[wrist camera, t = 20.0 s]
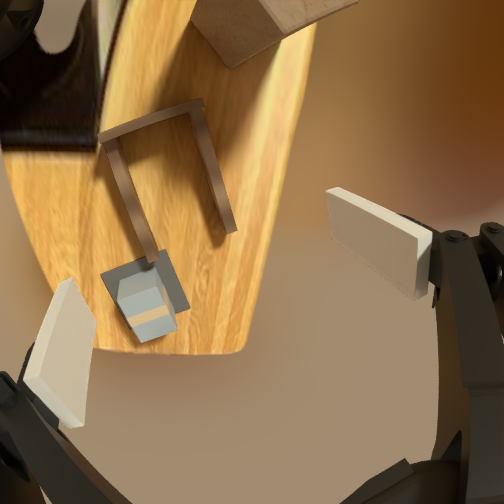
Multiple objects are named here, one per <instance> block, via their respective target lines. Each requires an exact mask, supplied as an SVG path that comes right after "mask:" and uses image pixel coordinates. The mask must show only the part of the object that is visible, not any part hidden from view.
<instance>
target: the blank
mask: <svg viewBox="0 0 504 504" xmlns="http://www.w3.org/2000/svg"><path fill="white" fill-rule="evenodd" d="M117 302H118V304H119V306H120V307H121V309H122V311H123V313H124V315H125V316H126V319H127V321H128V323H129V324H130V326H131V327H132V329H133V330H134V332H135V334H136V335H137V337H138V339H139V340H140V342H141V343H143V342H146V341H149V340H152V339H154V338H157V337H160V336H163V335H166V334H169V333H171V332H174V331H177V330H178V329H177V323H176V317H175V311H174V307H173V305H172V303H171V301H170V299H169V296H168V294H167V291H166V289H165V287H164V285H163V283H162V281H161V279H160V277H159V274H158V272H157V270H156V267H153V268H151V269H148V270H145V271H143V272H140V273H137V274H135V275H132V276H130V277H127V278H124V279H122V280H120V283H119V289H118V296H117Z"/></svg>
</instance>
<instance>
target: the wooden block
mask: <svg viewBox="0 0 504 504" xmlns="http://www.w3.org/2000/svg"><path fill="white" fill-rule="evenodd" d="M359 1H360V0H197V2H196V4H195V7H194V9H193V12H192V14H191V17H190V20H191V21H192V23H193V24H194V25H195V26H196V28H197V29H198V30H199V31H200V33H201V34H202V35H203V36H204V38H205V39H206V40H207V41H208V43H209V44H210V45H211V47H212V48H213V49H214V50H215V52H216V53H217V54H218V56H219V57H220V58H221V60H222V61H223V62H224V64H225V65H226V66H227V68H229V69H233V68H234V67H236V66H237V65H239V64H241V63H242V62H244V61H246V60H247V59H249V58H251V57H252V56H254V55H256V54H257V53H259V52H261V51H263V50H264V49H266V48H268V47H270V46H271V45H273V44H275V43H277V42H279V41H281V40H282V39H284V38H286V37H288V36H290V35H292V34H293V33H295V32H297V31H299V30H301V29H303V28H305V27H307V26H309V25H311V24H313V23H315V22H317V21H319V20H321V19H323V18H325V17H327V16H329V15H331V14H334V13H336V12H338V11H340V10H342V9H344V8H347V7H349V6H351V5H354V4H356V3H358V2H359Z"/></svg>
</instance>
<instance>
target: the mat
mask: <svg viewBox="0 0 504 504" xmlns="http://www.w3.org/2000/svg"><path fill="white" fill-rule="evenodd" d="M153 267H156V270H157V272H158V274H159V277H160V279H161V281H162V283H163V285H164V287H165V289H166V291H167V294H168V296H169V299H170V301H171V303H172V305H173V307H174V311H175V314H176V313H178V312H181V311H184V310H186V309H189V308H190V306H189V303H188V301H187V299H186V296H185V294H184V292H183V289H182V287H181V285H180V282H179V280H178V278H177V275H176V273H175V271H174V268H173V266H172V263H171V261H170V258H169V256H168V254H167V251H166V249H164V250H162V251H159V260H156V261H153V262H151V263H149V262H148V260H147V258H146V257H143V258H141V259H138V260H135V261H133V262H130V263H128V264H125V265H122V266H120V267H117V268H115V269H112V270H110V271H107V272H104V273H102V274H100V275H101V277H102V279H103V281H104V283H105V285H106V287H107V289H108V291H109V293H110V294H111V296H112V298H113V300H114V302H115V304H116V305H117V307H118V309H119V311H120V313H121V314H122V316H123V318H124V320H125V321H126V323H127V325H128V327H129V328H130V330H131V329H132V327H131V326H130V324H129V323H128V321H127V319H126V316H125V315H124V313H123V311H122V309H121V307H120V306H119V304H118V302H117V296H118V289H119V283H120V280H122V279H124V278H127V277H130V276H132V275H135V274H137V273H140V272H143V271H145V270H148V269H151V268H153Z"/></svg>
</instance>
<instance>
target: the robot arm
mask: <svg viewBox="0 0 504 504" xmlns="http://www.w3.org/2000/svg"><path fill="white" fill-rule="evenodd" d="M43 4H44V0H0V61H1V60H3V59H5V58H6V57H8V56H9V55H11V54H12V53H13V52H14V51H16V50H17V49H18V48H19V47H20V46H21V45H22V44H23V43H24V42H25V40H26V39H27V38H28V37H29V35H30V34H31V33H32V31H33V30H34V28H35V26H36V24H37V22H38V20H39V18H40V16H41V13H42V9H43ZM325 192H326V198H327V206H328V214H329V222H330V230H331V238H332V240H334V241H335V242H337V243H338V244H339V245H341V246H342V247H343V248H345V249H346V250H347V251H349V252H350V253H351V254H353V255H354V256H355V257H357V258H358V259H360V260H361V261H362V262H363V263H365V264H366V265H367V266H369V267H370V268H371V269H373V270H374V271H375V272H377V273H378V274H379V275H380V276H382V277H383V278H384V279H386V280H387V281H388V282H390V283H391V284H392V285H393V286H395V287H396V288H397V289H399V290H400V291H401V292H402V293H404V294H405V295H406V296H407V297H409V298H410V299H411V300H412V301H416V300H417V299H419V298H421V297H422V296H424V295H426V294H427V291H428V282H429V281H430V282H431V283H432V284H434V285H435V289H434V297H433V304H432V308H434V307H435V309H436V320H437V334H438V358H439V399H438V423H437V424H438V425H437V436H436V442H435V445H434V449H433V452H432V457H431V460H427V461H421V462H417V463H413V464H409V463H408V462H407V460H406V459H405V458H404V459H403V460H401V461H399V462H398V463H396V464H395V465H393V466H392V467H390V468H388V469H386V470H385V471H383V472H381V473H379V474H378V475H376V476H374V477H373V478H371V479H369V480H368V481H366V482H365V483H364V484H363V485H362V486H361V487H359V488H358V489H357V490H356V491H355V492H354V493H353V494H351V495H350V496H349V497H347V498H346V499H345V500H344V501H342V502H341V503H340V504H504V344H503V339H502V336H503V338H504V226H502V225H500V224H498V223H494V222H489V223H488V222H487V223H483V224H482V225H481V227H480V234H479V236H475V237H469V236H468V235H467V234H466V233H464V232H461V231H456V230H448V231H445V232H442V233H440V232H438V231H437V230H435V229H433V228H431V227H429V226H427V225H425V224H422V223H421V222H419V221H415V219H413V218H411V217H408V216H406V215H402V214H397V213H394V212H391V211H390V210H388V209H385V208H383V207H381V206H379V205H377V204H375V203H373V202H370V201H368V200H366V199H364V198H362V197H359V196H357V195H355V194H353V193H351V192H348V191H346V190H344V189H342V188H339V187H336V188H333V189H330V190H326V191H325ZM501 270H502V276H501V275H500V273H501ZM96 324H97V321H96V319H95V318H94V316H93V314H92V313H91V311H90V309H89V307H88V306H87V304H86V302H85V300H84V298H83V296H82V295H81V293H80V291H79V289H78V287H77V285H76V283H75V281H74V280H73V278H69V279H67V280H64V281H62V282H60V283H59V285H58V287H57V290H56V292H55V294H54V296H53V299H52V301H51V304H50V306H49V308H48V311H47V313H46V316H45V318H44V321H43V323H42V326H41V328H40V331H39V334H38V336H37V339H36V342H34V343H33V344H32V346H31V347H30V348H29V350H28V352H27V354H26V357H25V361H24V363H23V366H22V367H23V368H22V369H21V372H20V375H19V378H18V381H17V384H16V383H15V382H14V381H13V379H12V378H11V377H10V376H9V374H8V373H6V372H5V371H1V372H0V504H46V502H45V500H44V497H43V494H42V491H41V489H40V487H41V488H42V490H43V491H44V493H45V494H46V495H47V497H48V498H49V500H50V501H51V503H52V504H132V503H131V502H130V501H129V500H128V499H127V498H125V497H124V496H123V495H122V494H121V493H120V492H119V491H118V490H117V489H116V488H114V487H113V486H112V485H111V484H110V483H109V482H108V481H107V480H106V479H105V478H104V477H103V476H102V475H101V474H100V473H99V472H98V471H97V470H96V469H95V468H94V467H93V466H92V465H91V464H90V463H89V462H88V460H86V458H85V457H84V456H83V455H82V454H81V453H80V452H79V451H78V449H77V448H76V447H75V446H74V445H73V444H72V443H71V442H70V440H69V439H68V438H67V437H66V435H65V434H64V433H63V432H62V431H61V430H59V428H58V425H59V420H60V421H61V422H62V423H63V424H64V425H65V426H66V427H67V428H68V429H70V428H75V427H80V426H84V423H85V409H86V398H87V388H88V379H89V370H90V363H91V355H92V349H93V342H94V336H95V330H96ZM501 334H502V335H501ZM39 485H40V486H39Z"/></svg>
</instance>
